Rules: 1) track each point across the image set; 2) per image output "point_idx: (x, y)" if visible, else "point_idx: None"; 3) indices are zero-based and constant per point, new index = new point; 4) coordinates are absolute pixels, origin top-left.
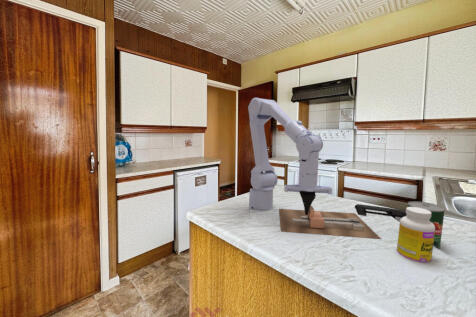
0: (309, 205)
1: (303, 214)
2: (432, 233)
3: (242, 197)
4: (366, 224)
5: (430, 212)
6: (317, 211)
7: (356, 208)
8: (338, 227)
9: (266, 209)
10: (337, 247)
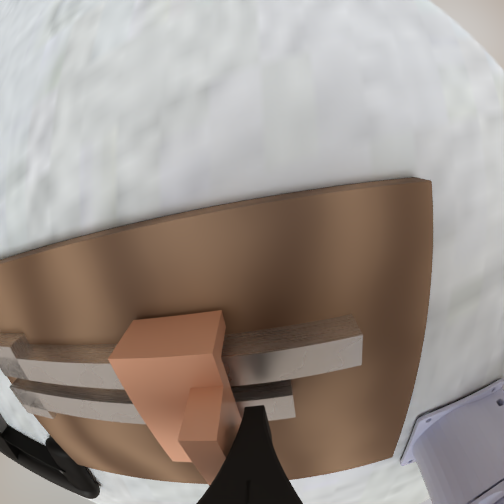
0: (225, 479)
1: None
2: None
3: None
4: None
5: None
6: (184, 461)
7: (86, 485)
8: (70, 348)
9: (452, 423)
10: (73, 155)
